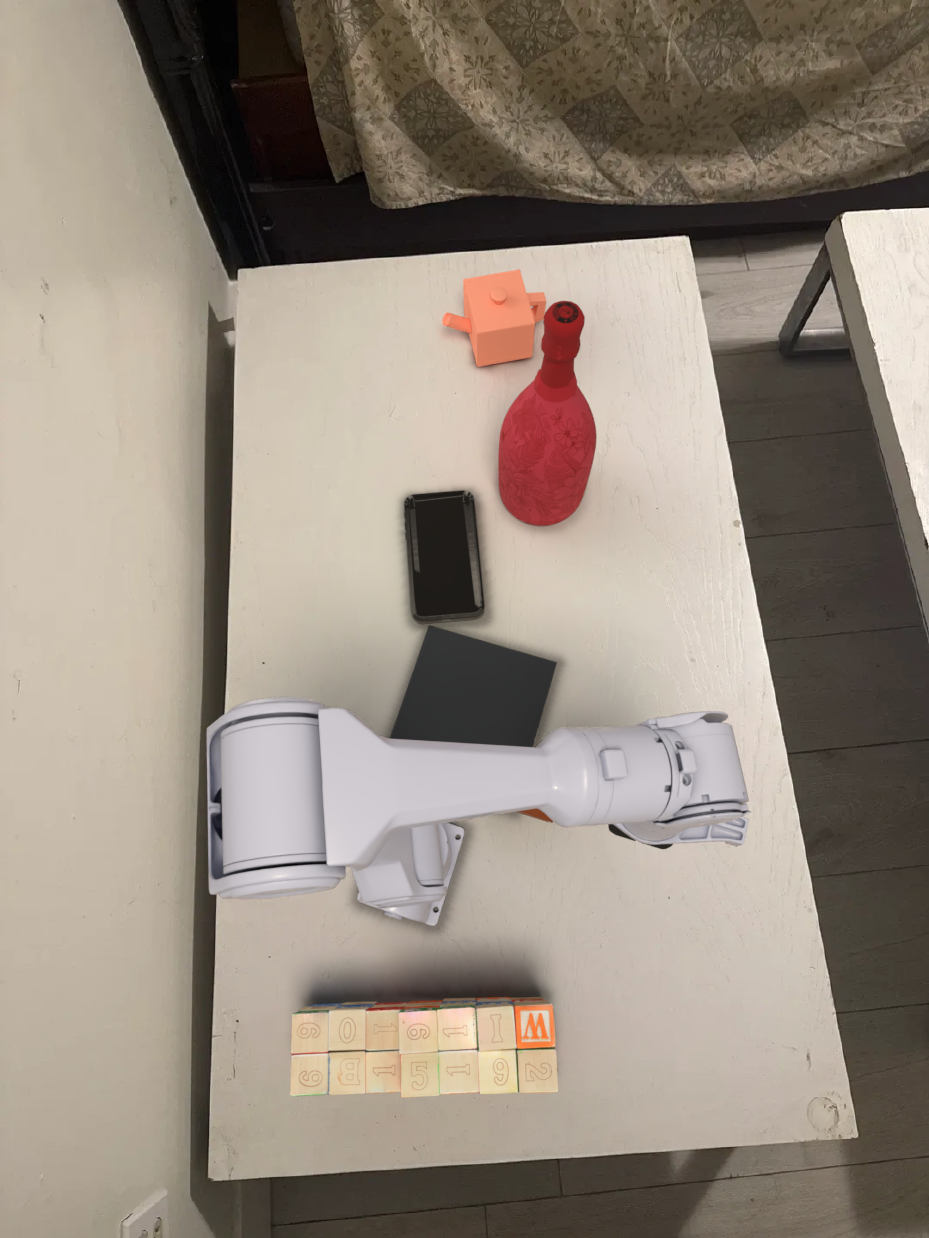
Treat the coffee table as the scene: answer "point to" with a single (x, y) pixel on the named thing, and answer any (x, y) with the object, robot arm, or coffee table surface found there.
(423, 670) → the mat
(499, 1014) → the stack of blocks
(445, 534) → the phone
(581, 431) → the wine bottle
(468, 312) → the pink cube teapot
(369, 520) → the coffee table surface
